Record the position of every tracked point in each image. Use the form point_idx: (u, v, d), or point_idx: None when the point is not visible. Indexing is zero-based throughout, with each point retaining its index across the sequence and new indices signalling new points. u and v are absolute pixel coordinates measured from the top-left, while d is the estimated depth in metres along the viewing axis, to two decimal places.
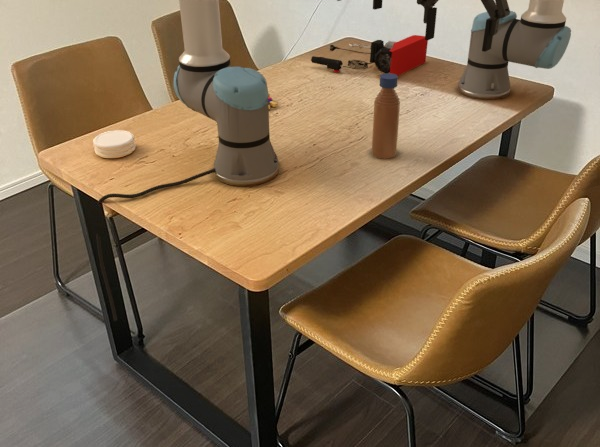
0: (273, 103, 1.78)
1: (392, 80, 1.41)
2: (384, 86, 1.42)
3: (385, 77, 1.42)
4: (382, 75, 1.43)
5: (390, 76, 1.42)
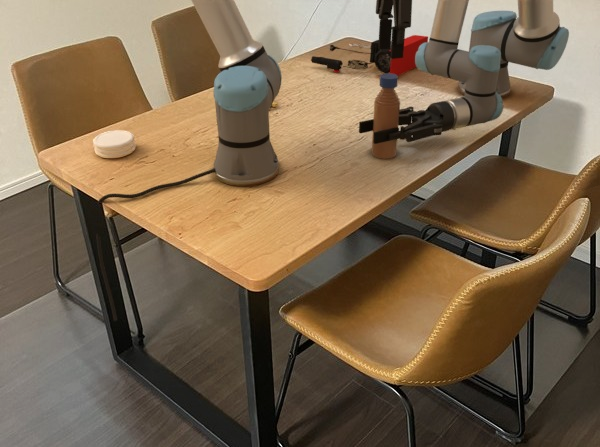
0: (273, 103, 1.78)
1: (392, 80, 1.41)
2: (384, 86, 1.42)
3: (385, 77, 1.42)
4: (382, 75, 1.43)
5: (390, 76, 1.42)
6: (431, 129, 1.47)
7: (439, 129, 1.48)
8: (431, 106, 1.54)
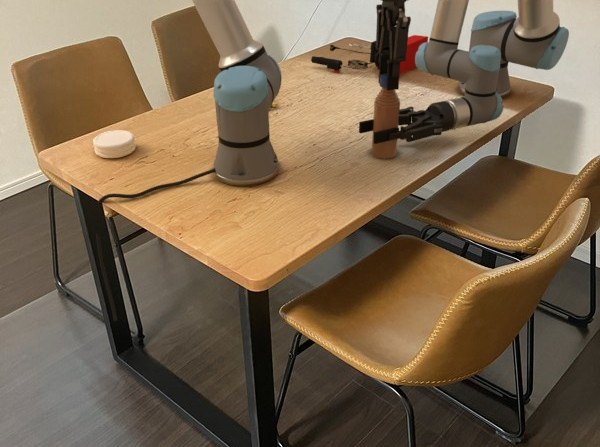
0: (273, 103, 1.78)
1: None
2: (384, 86, 1.42)
3: (385, 77, 1.42)
4: (382, 75, 1.43)
5: None
6: (431, 129, 1.47)
7: (439, 129, 1.48)
8: (431, 106, 1.54)
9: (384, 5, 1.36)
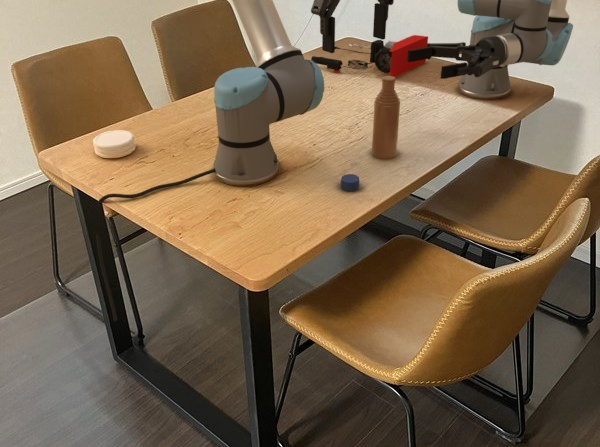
0: None
1: None
2: (358, 187, 1.38)
3: (354, 180, 1.37)
4: (348, 181, 1.36)
5: (352, 177, 1.38)
6: (491, 62, 1.44)
7: (497, 61, 1.45)
8: (481, 41, 1.51)
9: None
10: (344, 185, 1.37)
